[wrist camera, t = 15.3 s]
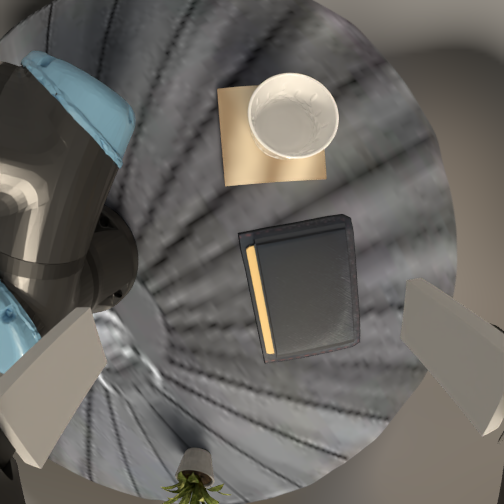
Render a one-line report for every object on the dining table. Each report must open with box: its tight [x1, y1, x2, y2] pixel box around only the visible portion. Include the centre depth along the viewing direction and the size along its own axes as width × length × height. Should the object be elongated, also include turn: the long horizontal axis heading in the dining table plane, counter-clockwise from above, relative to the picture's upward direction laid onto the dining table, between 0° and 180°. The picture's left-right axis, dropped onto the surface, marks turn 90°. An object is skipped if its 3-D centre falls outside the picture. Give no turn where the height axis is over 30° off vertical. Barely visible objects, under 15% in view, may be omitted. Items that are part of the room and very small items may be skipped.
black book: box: [238, 214, 360, 364], centre depth 39 cm, size 20×2×15 cm
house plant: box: [162, 448, 231, 504], centre depth 40 cm, size 14×14×16 cm
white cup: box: [248, 73, 339, 160], centre depth 28 cm, size 8×8×10 cm
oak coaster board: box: [217, 85, 326, 186], centre depth 34 cm, size 12×12×2 cm
